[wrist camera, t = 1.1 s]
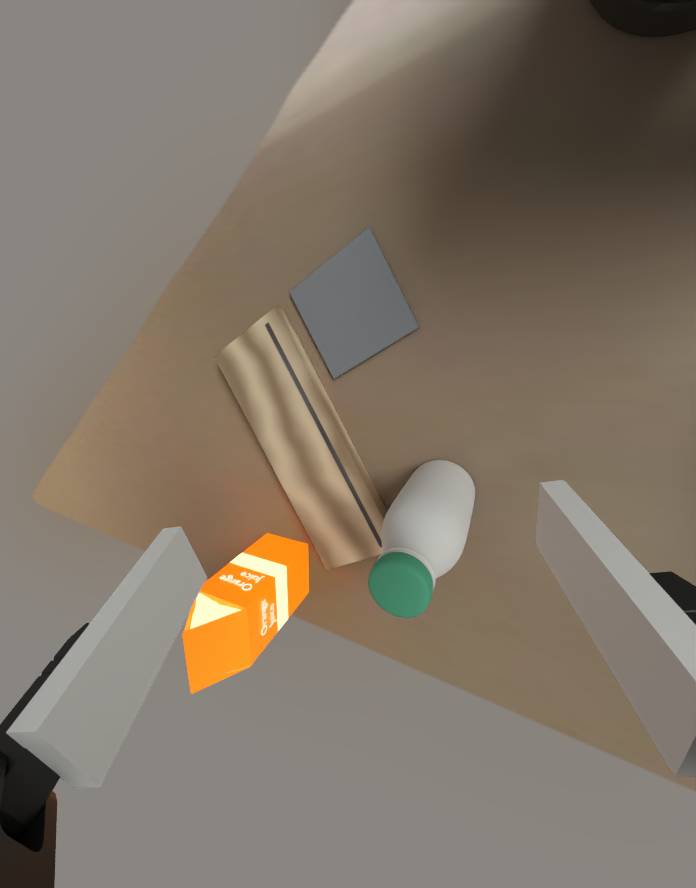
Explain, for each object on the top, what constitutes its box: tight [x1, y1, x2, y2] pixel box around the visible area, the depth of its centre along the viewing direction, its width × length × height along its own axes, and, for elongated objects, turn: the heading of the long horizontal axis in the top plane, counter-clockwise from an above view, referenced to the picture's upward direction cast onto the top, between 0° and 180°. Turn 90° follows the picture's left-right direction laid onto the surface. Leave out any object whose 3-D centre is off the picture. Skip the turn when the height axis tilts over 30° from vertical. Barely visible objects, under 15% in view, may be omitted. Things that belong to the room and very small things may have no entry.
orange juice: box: [182, 533, 309, 694], centre depth 47 cm, size 8×9×20 cm
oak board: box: [214, 307, 387, 570], centre depth 47 cm, size 12×34×2 cm, turn 29°
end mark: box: [289, 227, 420, 379], centre depth 41 cm, size 12×12×1 cm
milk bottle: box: [368, 460, 475, 618], centre depth 33 cm, size 8×8×20 cm
